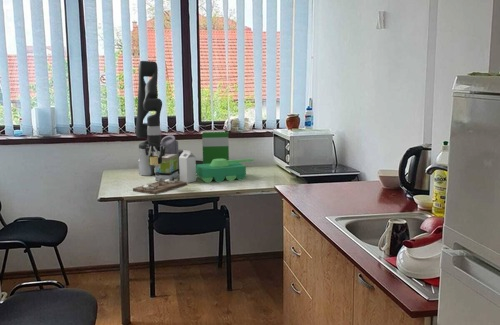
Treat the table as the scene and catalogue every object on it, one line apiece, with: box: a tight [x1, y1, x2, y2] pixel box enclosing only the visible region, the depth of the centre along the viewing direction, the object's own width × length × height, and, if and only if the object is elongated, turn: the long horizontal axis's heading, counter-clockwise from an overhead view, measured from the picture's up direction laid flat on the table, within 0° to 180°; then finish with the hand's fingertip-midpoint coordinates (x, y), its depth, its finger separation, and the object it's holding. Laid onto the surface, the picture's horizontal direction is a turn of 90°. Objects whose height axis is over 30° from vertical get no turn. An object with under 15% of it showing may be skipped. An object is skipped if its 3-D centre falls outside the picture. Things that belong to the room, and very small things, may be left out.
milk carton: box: [179, 149, 197, 184], centre depth 321 cm, size 7×7×19 cm
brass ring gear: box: [150, 155, 160, 166], centre depth 304 cm, size 6×6×4 cm
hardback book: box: [201, 131, 230, 164], centre depth 367 cm, size 18×7×24 cm, turn 92°
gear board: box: [132, 177, 188, 195], centre depth 306 cm, size 16×28×6 cm, turn 148°
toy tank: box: [196, 158, 254, 184], centre depth 330 cm, size 18×12×35 cm
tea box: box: [154, 154, 179, 182], centre depth 331 cm, size 15×10×15 cm
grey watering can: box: [159, 134, 184, 175], centre depth 354 cm, size 30×16×24 cm, turn 161°
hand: (155, 163), depth 304 cm, fingers closed on brass ring gear, 6 cm apart
